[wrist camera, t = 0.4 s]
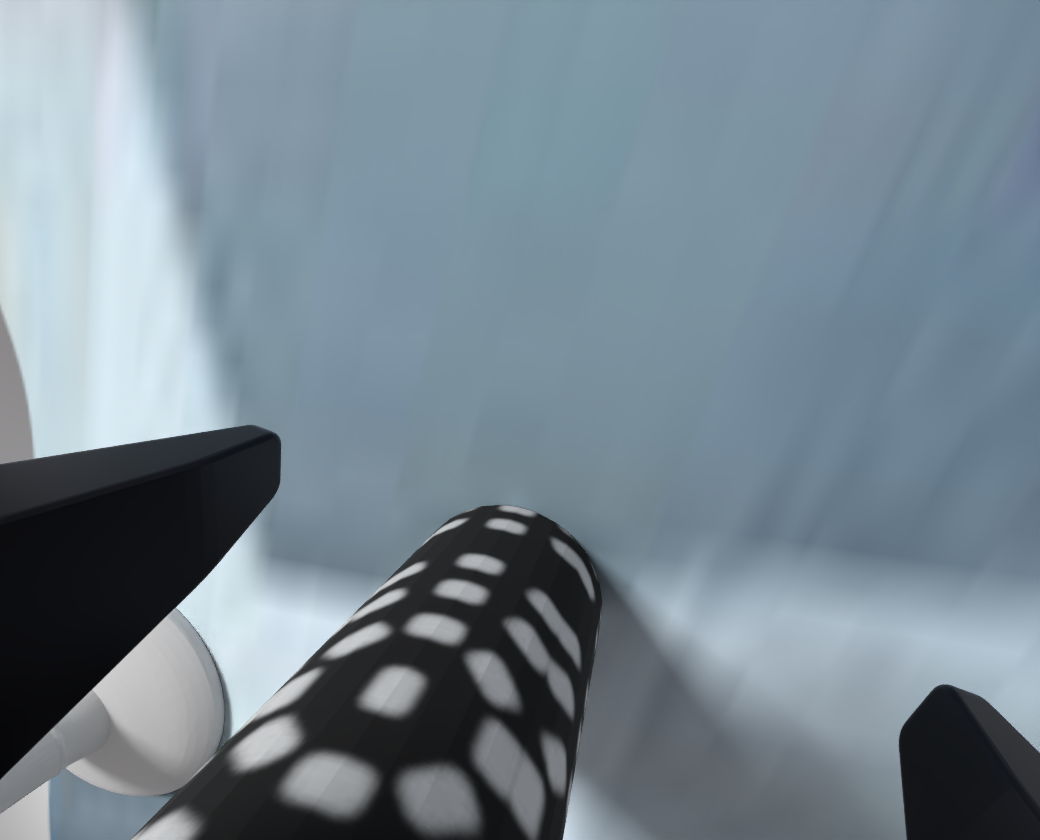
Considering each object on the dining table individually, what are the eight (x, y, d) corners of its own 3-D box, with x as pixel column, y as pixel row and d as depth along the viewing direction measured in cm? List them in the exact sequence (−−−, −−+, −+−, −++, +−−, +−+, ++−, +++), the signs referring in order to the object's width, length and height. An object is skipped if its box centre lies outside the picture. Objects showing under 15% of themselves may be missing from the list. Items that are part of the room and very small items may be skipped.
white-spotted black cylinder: (584, 704, 25) (364, 1946, 6) (408, 655, 27) (-209, 1519, 8) (618, 528, 23) (455, 1506, 4) (426, 486, 25) (-319, 1063, 6)
